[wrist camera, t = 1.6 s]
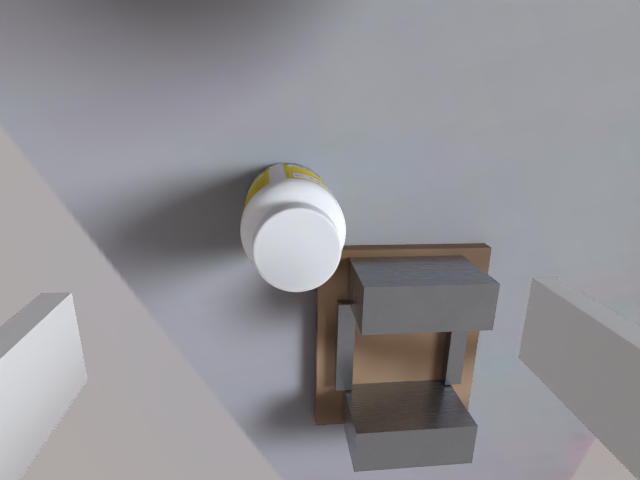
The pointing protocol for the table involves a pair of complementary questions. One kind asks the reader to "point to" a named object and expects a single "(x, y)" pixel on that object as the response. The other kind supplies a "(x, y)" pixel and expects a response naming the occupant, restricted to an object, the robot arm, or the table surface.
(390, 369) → the mount board
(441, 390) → the grey rectangular frame
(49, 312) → the robot arm
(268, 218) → the supplement bottle
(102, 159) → the table surface
